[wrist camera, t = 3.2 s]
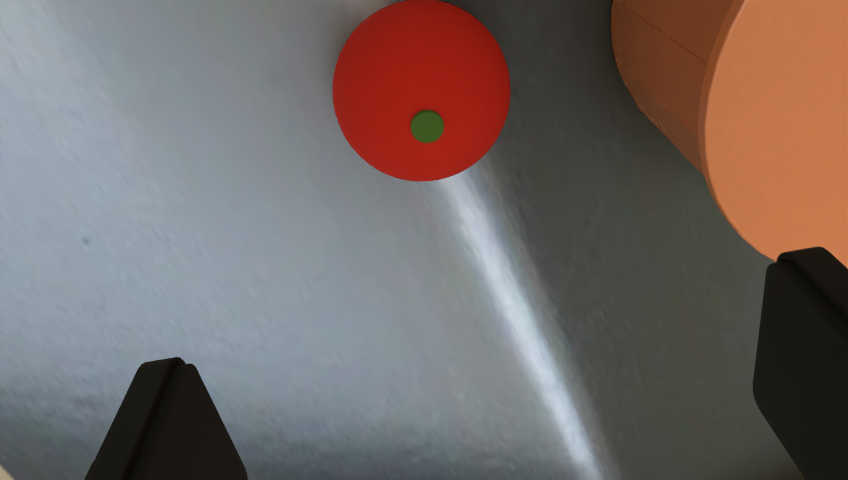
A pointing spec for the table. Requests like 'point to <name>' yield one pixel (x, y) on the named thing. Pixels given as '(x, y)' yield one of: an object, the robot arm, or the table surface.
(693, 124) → the pot
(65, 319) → the table surface
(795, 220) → the pot lid
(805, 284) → the robot arm
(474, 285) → the table surface
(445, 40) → the tomato
